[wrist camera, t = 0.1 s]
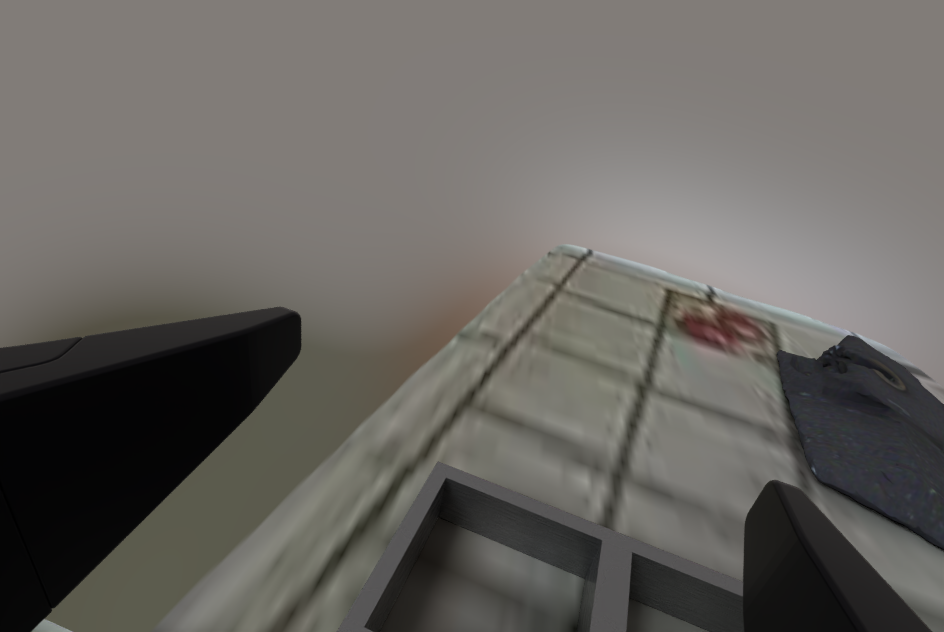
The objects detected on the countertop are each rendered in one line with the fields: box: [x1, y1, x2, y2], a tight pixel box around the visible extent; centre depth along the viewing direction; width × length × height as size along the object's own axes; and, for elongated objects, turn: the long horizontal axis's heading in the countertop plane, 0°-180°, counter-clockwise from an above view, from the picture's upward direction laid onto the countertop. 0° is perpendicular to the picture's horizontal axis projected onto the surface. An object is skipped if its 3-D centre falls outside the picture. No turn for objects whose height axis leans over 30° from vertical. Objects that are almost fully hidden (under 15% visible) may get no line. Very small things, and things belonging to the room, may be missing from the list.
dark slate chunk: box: [777, 335, 944, 549], centre depth 38 cm, size 15×22×5 cm
